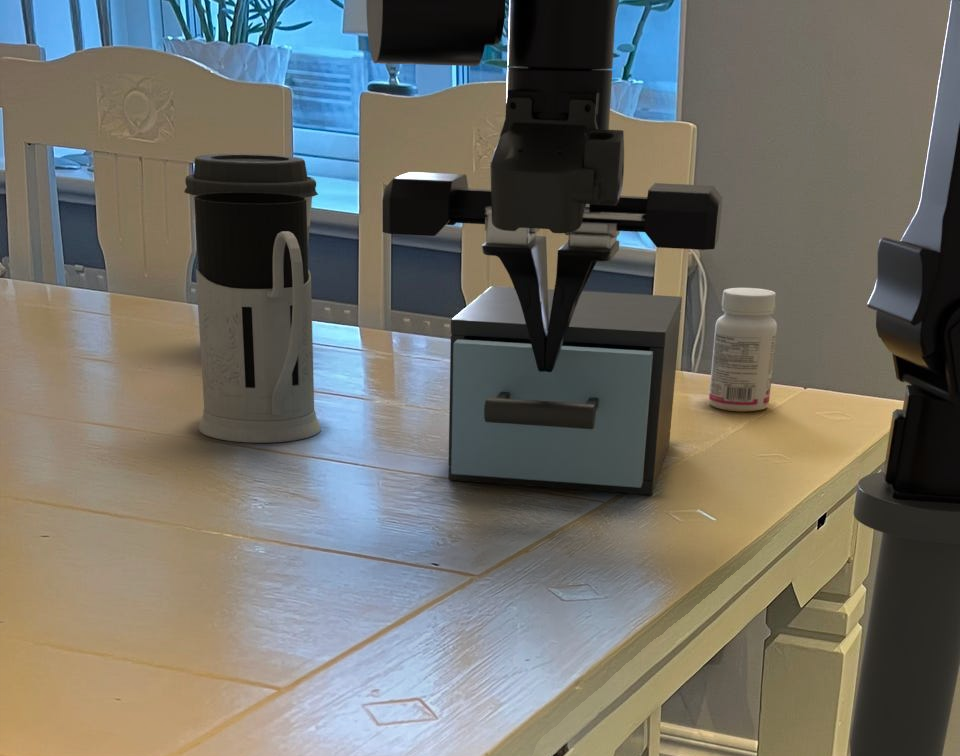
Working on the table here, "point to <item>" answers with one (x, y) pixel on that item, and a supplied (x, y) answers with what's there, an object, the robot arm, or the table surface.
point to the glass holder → (255, 317)
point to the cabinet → (599, 324)
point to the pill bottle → (743, 350)
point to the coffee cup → (251, 176)
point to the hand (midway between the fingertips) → (546, 370)
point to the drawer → (550, 412)
